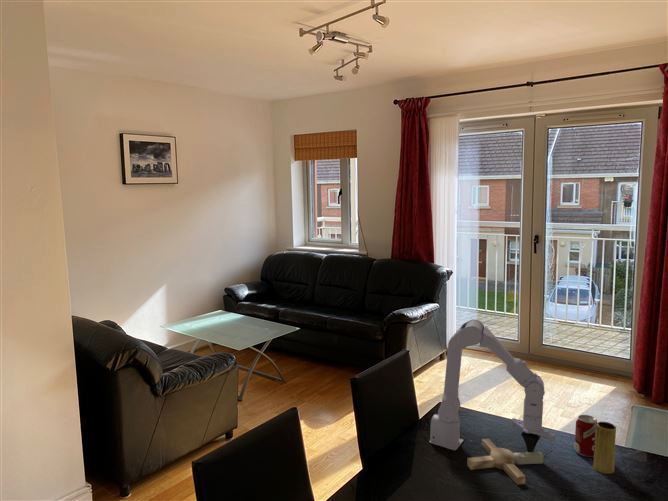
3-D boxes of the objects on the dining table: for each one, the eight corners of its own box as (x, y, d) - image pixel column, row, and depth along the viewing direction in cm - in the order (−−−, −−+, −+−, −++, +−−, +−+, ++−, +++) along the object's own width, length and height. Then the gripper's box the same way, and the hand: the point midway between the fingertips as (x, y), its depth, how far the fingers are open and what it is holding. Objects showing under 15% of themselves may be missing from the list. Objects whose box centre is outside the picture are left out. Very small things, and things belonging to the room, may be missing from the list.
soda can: (574, 456, 162) (577, 421, 160) (573, 446, 168) (575, 412, 167) (598, 460, 159) (600, 424, 158) (595, 450, 166) (598, 415, 164)
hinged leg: (514, 464, 157) (515, 456, 157) (511, 460, 160) (511, 452, 159) (543, 463, 158) (543, 455, 157) (539, 459, 160) (539, 451, 160)
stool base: (486, 488, 145) (486, 477, 144) (454, 449, 166) (454, 439, 166) (532, 483, 147) (532, 472, 147) (494, 444, 169) (494, 435, 169)
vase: (617, 475, 151) (620, 431, 149) (595, 473, 152) (598, 429, 150) (610, 464, 157) (613, 421, 155) (589, 462, 158) (592, 419, 156)
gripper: (505, 409, 162) (503, 448, 164) (548, 426, 151) (545, 467, 153) (517, 403, 167) (515, 441, 169) (559, 419, 156) (557, 459, 157)
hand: (530, 453), depth 161 cm, fingers closed
